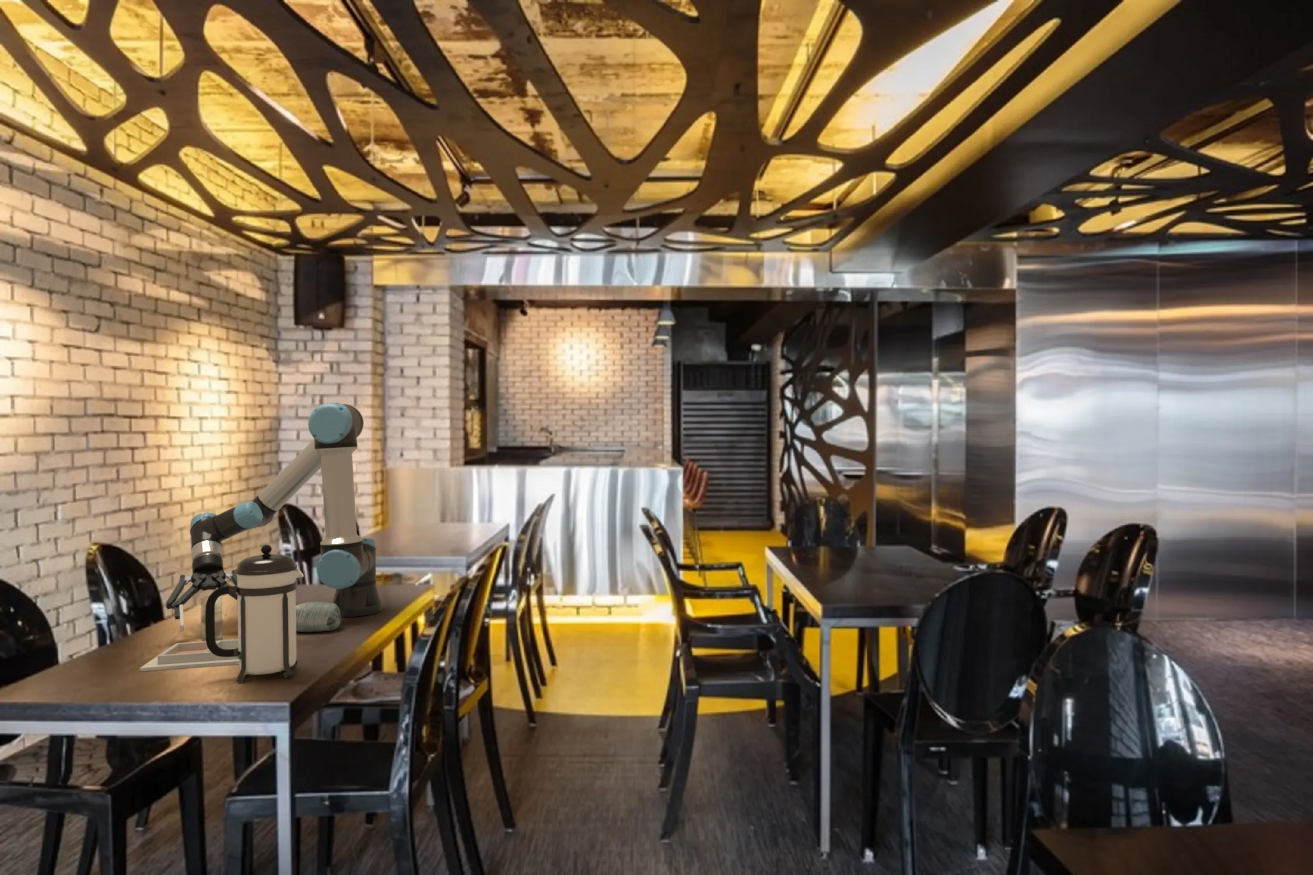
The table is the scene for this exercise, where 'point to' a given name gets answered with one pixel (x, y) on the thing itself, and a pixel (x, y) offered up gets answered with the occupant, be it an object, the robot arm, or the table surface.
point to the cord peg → (217, 619)
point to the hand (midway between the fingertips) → (211, 624)
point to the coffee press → (261, 615)
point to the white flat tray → (191, 656)
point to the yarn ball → (317, 616)
